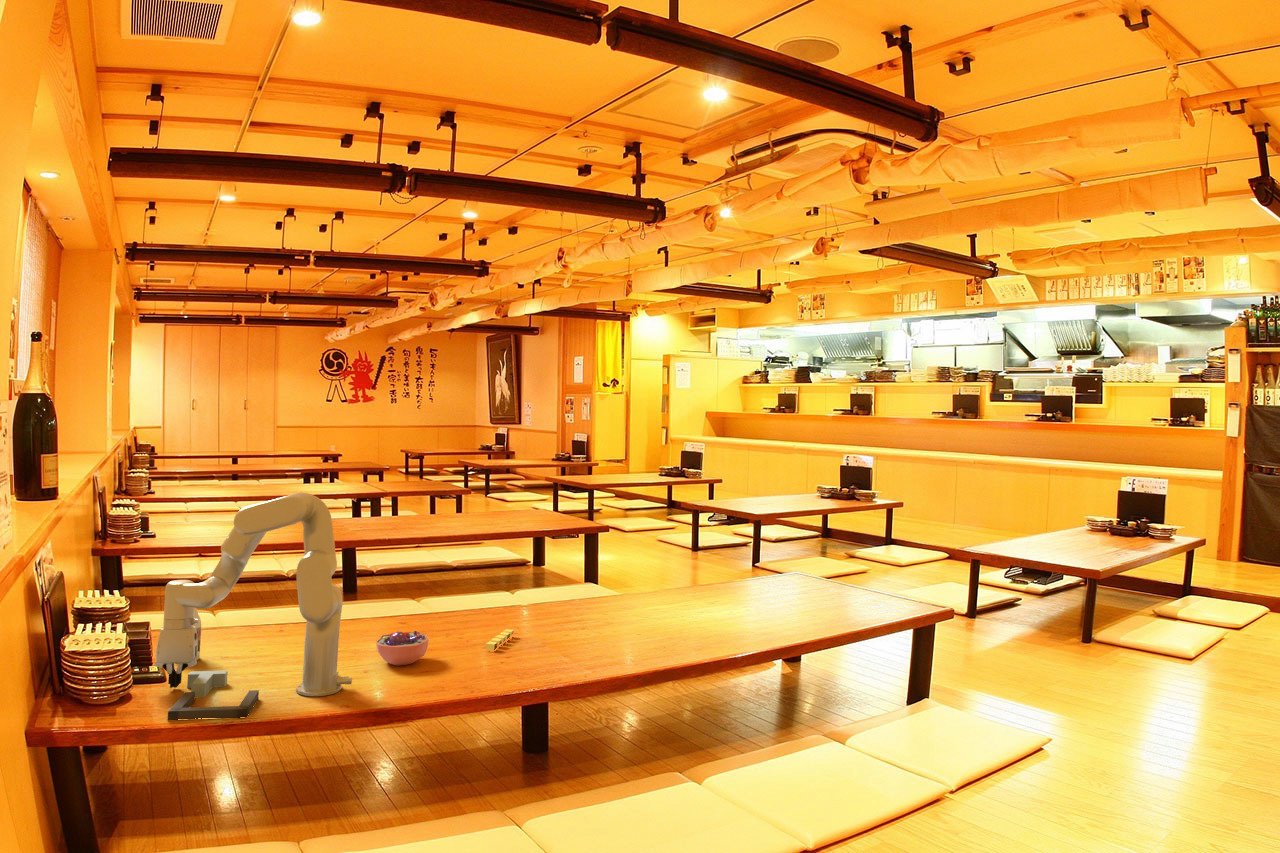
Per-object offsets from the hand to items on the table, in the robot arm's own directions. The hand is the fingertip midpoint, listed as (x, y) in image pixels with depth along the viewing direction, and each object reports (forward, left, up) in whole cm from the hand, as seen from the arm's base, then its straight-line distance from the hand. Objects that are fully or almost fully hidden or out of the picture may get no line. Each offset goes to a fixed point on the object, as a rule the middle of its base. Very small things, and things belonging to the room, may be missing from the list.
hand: (174, 686), depth 235 cm
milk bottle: (+5, -31, -1) cm, 32 cm away
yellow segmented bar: (-100, -45, -2) cm, 110 cm away
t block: (-8, +1, -1) cm, 8 cm away
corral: (-15, +18, -1) cm, 24 cm away
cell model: (-63, -23, -1) cm, 67 cm away
